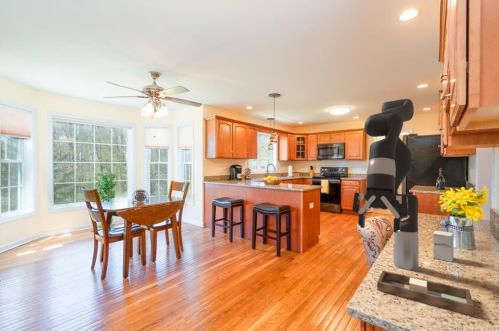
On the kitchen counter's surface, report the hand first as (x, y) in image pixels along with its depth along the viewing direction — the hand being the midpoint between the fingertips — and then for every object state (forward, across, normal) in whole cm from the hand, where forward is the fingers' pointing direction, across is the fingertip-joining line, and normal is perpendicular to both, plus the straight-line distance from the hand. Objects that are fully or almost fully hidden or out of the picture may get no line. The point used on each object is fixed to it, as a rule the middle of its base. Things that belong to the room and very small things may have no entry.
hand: (378, 230), depth 69 cm
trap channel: (+19, -8, -34) cm, 40 cm away
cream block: (+18, -7, -34) cm, 39 cm away
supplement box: (+6, -14, -80) cm, 82 cm away
